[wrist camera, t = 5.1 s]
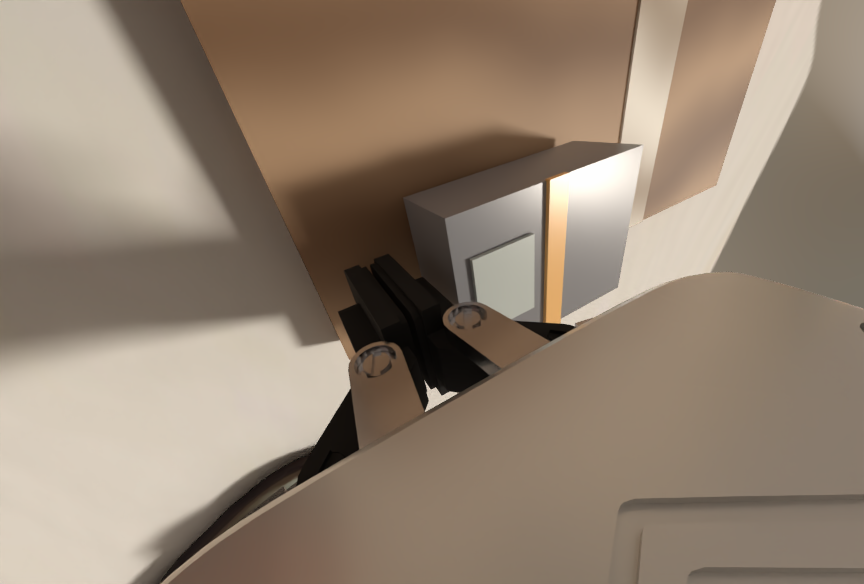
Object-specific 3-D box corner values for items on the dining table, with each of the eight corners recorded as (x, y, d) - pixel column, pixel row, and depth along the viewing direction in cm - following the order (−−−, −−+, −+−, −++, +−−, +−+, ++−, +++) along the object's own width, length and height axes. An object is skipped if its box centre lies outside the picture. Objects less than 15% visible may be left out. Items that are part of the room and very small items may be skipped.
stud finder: (402, 196, 11) (447, 218, 8) (573, 139, 13) (648, 143, 11) (433, 328, 14) (472, 371, 12) (565, 264, 16) (620, 289, 14)
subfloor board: (-265, -957, 3) (-560, -1569, 2) (849, -385, 11) (925, -451, 10) (341, 340, 14) (349, 361, 13) (691, 181, 22) (717, 185, 21)
